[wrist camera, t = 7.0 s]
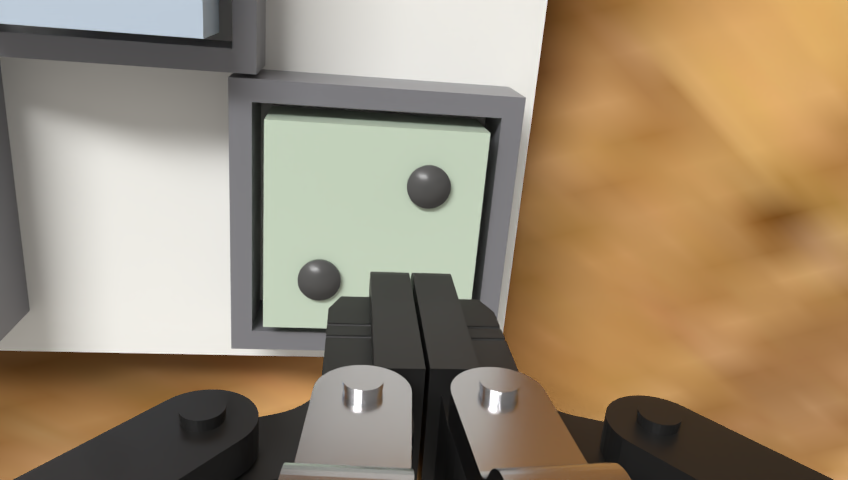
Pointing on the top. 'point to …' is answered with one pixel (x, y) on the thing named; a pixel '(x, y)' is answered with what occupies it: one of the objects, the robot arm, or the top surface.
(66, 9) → the button three
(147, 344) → the button panel
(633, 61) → the top surface
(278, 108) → the button two
